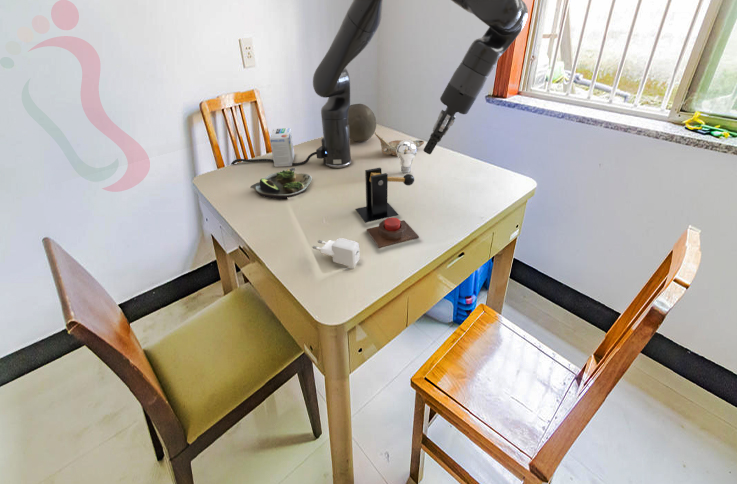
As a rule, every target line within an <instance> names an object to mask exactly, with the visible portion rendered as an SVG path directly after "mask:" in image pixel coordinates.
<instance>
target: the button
mask: <svg viewBox="0 0 737 484" xmlns="http://www.w3.org/2000/svg"><path fill="white" fill-rule="evenodd" d="M384 220H385V229H386V230H388V231H396V230H399V229H400V221H401V220H400V219H399V218H397V217H394V216H392V217H388V218H385V219H384Z"/></svg>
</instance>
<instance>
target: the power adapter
mask: <svg viewBox="0 0 737 484" xmlns="http://www.w3.org/2000/svg"><path fill="white" fill-rule="evenodd" d="M317 244H321V245H323V246H322V247H321V246H317V245H312V247H311V248H312V249H313V250H318V251H320V253H321V254H322V255H326V256H328V257H331V258H332V262H333V263H336V264H340V265H343V266H345V268H348V269H350V270H351V269H355V268H356V266H357V265H358V263H359V262H360V259H361V254H360V253H361V252H360V243H359V242H358V241H355V240H351V239H347V238H343V237H338V238H337V239H336V240H332V239H328V240H327V241H324V240H320V239H318V240H317Z"/></svg>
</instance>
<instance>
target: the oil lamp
mask: <svg viewBox="0 0 737 484" xmlns="http://www.w3.org/2000/svg"><path fill="white" fill-rule="evenodd" d="M374 135H375V136H376V137H377V139H378V140H379V141H380V146H381V152H382V154H384V155H392V156H395V157H398V156H397V154H396V148H397V145H398V144H399V143H400V142H401V141H403V140H404V139H402V140H401V139H400V140H399V139H397V140H396V139H395V140H391V141H389V142H388V141H387V140H386V139H384V138H383V137H382V136H381V135H379V134H378V133H377V131H375V132H374ZM412 141H413V142H414V143H415V144H416V147H417V149H418V148H419V147H421V146H423V145H424V143H425V141H424V140H421V139H417V140H412Z"/></svg>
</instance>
